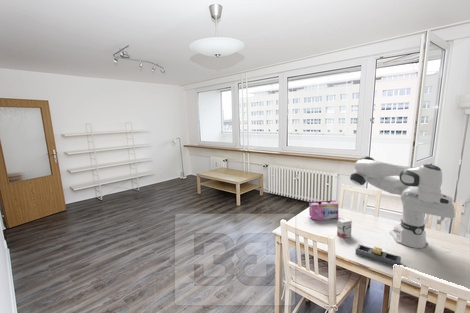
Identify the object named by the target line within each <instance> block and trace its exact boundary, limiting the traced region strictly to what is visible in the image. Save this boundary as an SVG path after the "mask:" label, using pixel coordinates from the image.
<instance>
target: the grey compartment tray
mask: <svg viewBox="0 0 470 313" xmlns="http://www.w3.org/2000/svg"><path fill="white" fill-rule="evenodd" d="M373 248H374V247H371V246H366V245H363V244H360V243H358V245H357V246H356V248H355V255H357V256H360V257H364V258H366V259H369V260H372V261H376V262H378V263H380V264H384V265H387V266H390V267H392V266H393V265H394V264H397V265H399V266H400V265H401V261H402V260H401V258H402V257H401V256H399V255H396V254H392V253H389V252H385V251H383V250H382V256H378V255H375V254H373Z"/></svg>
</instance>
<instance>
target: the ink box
mask: <svg viewBox="0 0 470 313" xmlns="http://www.w3.org/2000/svg"><path fill="white" fill-rule="evenodd" d="M352 222H353V221H352V220H351V219H349V218H347V217H345V218H340V219H339V218H338V219H337V225H336V227H337V229H336V230H337V232H336V233H337V234H336V235H337V236H338V237H340V238H346V237H351V236H352V224H353V223H352Z"/></svg>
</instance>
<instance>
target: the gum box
mask: <svg viewBox="0 0 470 313" xmlns="http://www.w3.org/2000/svg"><path fill="white" fill-rule="evenodd" d="M308 206H309V209H308V210H309V214H308V216H309V215H310V216H311V218H312V219H322V220H330V219H329V218H338V219H339V203H338V201H336V200H320V201H309V203H308ZM311 218H310V219H311ZM312 219H311V220H312Z"/></svg>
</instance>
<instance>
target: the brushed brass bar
mask: <svg viewBox="0 0 470 313" xmlns="http://www.w3.org/2000/svg"><path fill="white" fill-rule="evenodd" d="M372 248H373V254H375V255H378V256H382V251H383V248H381V247H378V246H373V247H372Z"/></svg>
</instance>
